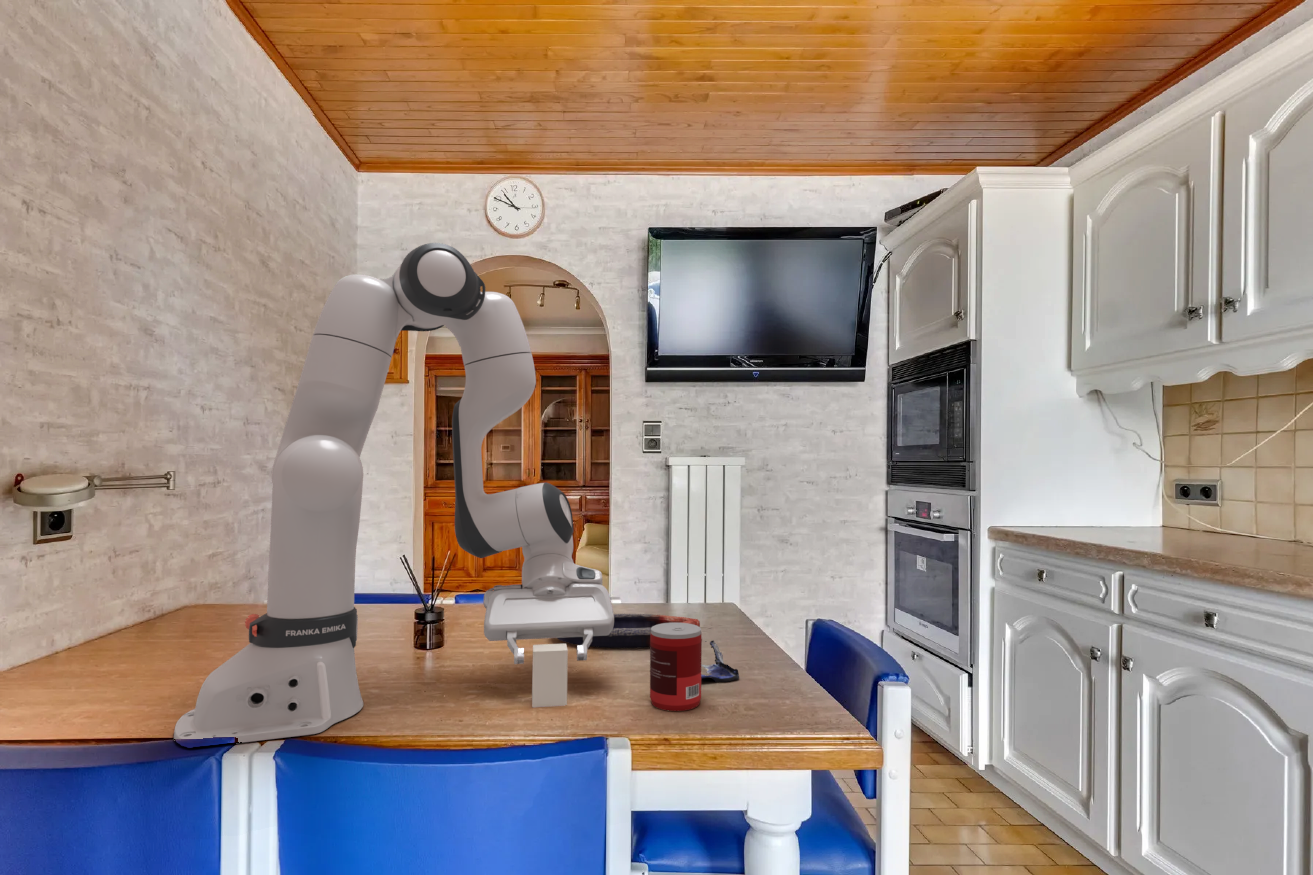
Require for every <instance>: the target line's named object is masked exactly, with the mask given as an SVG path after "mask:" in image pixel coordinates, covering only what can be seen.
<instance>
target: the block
mask: <svg viewBox="0 0 1313 875" xmlns="http://www.w3.org/2000/svg"><path fill="white" fill-rule="evenodd" d="M568 652H569V651H568V647H567V643H549V644H548V643H546V644H545V643H544V644H532V676H531V677H532V680H531V681H532V682H531V683H532V684H531V685H532V686H531V707H532V708H548V707H564V706H565V705H567V706H568V657H569V656H568V655H569V654H568Z"/></svg>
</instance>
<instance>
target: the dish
mask: <svg viewBox="0 0 1313 875" xmlns="http://www.w3.org/2000/svg"><path fill="white" fill-rule="evenodd" d="M662 623H689V624H693V625H697V626H699V627H700V628H701V626H700V625H701V622H700V620H699V619H698V618H691V617H686V616H672V615H664V614H652V613H650V614H649V613H614V626H613V630H612V631H611V633H610V634H609V635H607V636H593V638H592V642H591V644H590V646H589V647H590V648H603V649H640V648H641V649H642V648H643V649H644V648H645V649H646V648H650V632H651V627H653V626H655V625H658V624H662ZM556 639H557V640H559V641H561V642H563V643H566V644H567V643H568V644H571V645H576V646H577V645H583V643H584V641H583V637H565V638H556ZM589 647H588V648H589Z"/></svg>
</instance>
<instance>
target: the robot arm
mask: <svg viewBox="0 0 1313 875" xmlns="http://www.w3.org/2000/svg"><path fill="white" fill-rule="evenodd" d="M481 287H482V288H481ZM481 290H482V291H481ZM442 327H445V328H446V329H448V330H449V331H450V332H451V333H452V334H453V336H454V337H455V339H456V341H457V343H458V347H460V351H461V357H462V363H463V366H464V371H465V384H464V390H463V394H462V397H461V398H460V399H459V400H458V401H457V402H456V403H454V407H453V410H452V411H453V412H452V419H451V421H452V422H451V425H452V426H451V428H452V429H451V430H452V431H451V434H452V436H451V437H452V438H451V439H452V457H453V458H452V461H453V476H454V477H453V478H454V479H453V480H454V494H455V495H454V496H455V498H454V500H455V503H454V534H455V537H456V542H457V544H458V546H459V548H461V549H462V550H463V551H465V552H466V553H468V554H470V555H472V556H474V557H476V558H479V559H484V558H487V557H490V556H494V555H497V554H500V553H502V552H503V551H508V550H514V549H517V548H518V549H519V548H522V555H523V558H524V561H523V563H522V567H521V584H510V585H509V584H508V585H507V584H506V585H502V584H499V585H498V584H497V585H494V586H493V587H492V588H489V589H487V590H486V591H485V593H483V594H484V595H483V601H482V602H483V606H484V607H483V608H485V614H484V620H483V621H484V622H483V634H484V637H485V638H486V639H487V640H488V641H489V642H495V641H496V642H499V641H501V642H502V641H506V645H507V647H508V649H509V650H510V652H511V653H512V655H513V664H514V665H521V664H522V665H525V664H524V663H525V648H524V647H519V646H518V645H517V641H519V640H522V641H523V640H538V639H539V640H540V639H542V640H543V639H557V638H565V637H583V641H584V643H583V645H576V661H577V662H580V661H587V659H588V649H589V646H590V644H591V642H592V638H593V636H607V635H609V634H610V633H611V631H612V630H613V626H614V614H615V612H614V608H613V603H612V600H611V596H610V594H609V590H608V589H607V588H606V586H604V585H603V573H602V572H601V570H599V569H595V568H590V567H586V566H582V565H579V564H576V563H574V559H573V552H574V538H573V534H574V520H573V512H572V507H571V505H570V501H569V499H568V498H567V495H566V494H565V493H564V492H563V491H562V490H560V489H559V488H558V487H557V486H555V485H553V484H552V483H549V482H547V481H546V482H540V483H533V484H529V485H525V486H520V487H517V488H513V489H508V490H505V491H500V492H496V493H488V494H487V493H486V492H485V490H484V479H483V478H484V477H483V476H484V475H483V459H482V458H483V457H482V445H483V443H484V439H485V437H486V436H487V435H488V433H490V431H491V430H492V429H493V428H494V427H495V426H497V425H498V424H500V423H501V422H503V421H504V420H506V419H507V418H509V417H510V416H512V415H514V414H515V413H516V412H518V411H519V410H520V409H521V408H523V407H524V405H526V404H527V402H528V401H529V400H530V398H531V397H532V395H533V394H534V391H535V388H536V385H537V377H536V369H535V364H534V363H535V362H534V358H533V354H532V349H531V345H530V341H529V338H528V335H527V331H526V329H525V326H524V322H523V320H522V317H521V315H520V313H519V310H518V309H517V306H516V304H515V302H514V301H513V299H512V298H510V297H509V296H508V295H506V294H504V293H500V292H497V291H486V285H485V282H484V281H483V280H482V279H481V277H480V276H479V275H478V274H477V273H476V271H475V270H474V268H473V266H472V265H471V263H470V262H469V260H468V259H467V258H466V257H465V255H463V253H461V251H459V250H458V249H457V248H455V247H453V246H452V245H449V244H446V243H443V242H442V243H441V242H429V243H425V244H422V245H420V246H417V247H415V248H414V249H411V251H409V253H407V255H405V257H404V258H403V260H402V261H401V264H400V265H399V266H398V267H397V269H396V270H395V271H394V273H393V274H392V275H391V276H389V277H387V278H377V277H375V276H372V275H368V274H361V273H356V274H355V273H353V274H349V275H346V276H343V277H341V278H340V279H339V280H337V282H336V283H335V285H334V286H333V287H332V289H331V291H330V293H329V295H328V297H327V299H326V301H325V303H324V305H323V307H322V310H321V312H320V314H319V317H318V319H317V322H316V324H315V327H314V330H313V333H312V336H311V340H310V343H309V346H308V350H307V352H306V353H307V354H306V357H305V361H304V363H303V367H302V370H301V373H300V376H299V377H300V378H299V379H298V380H299V381H298V383H297V387H296V391H295V393H294V397H293V400H292V402H291V406H290V409H289V412H288V416H287V419H286V422H285V426H284V429H283V432H282V435H281V439H280V442H279V445H278V448H277V451H276V454H275V458H274V461H273V464H272V468H271V483H272V488H271V490H272V491H271V492H272V494H271V514H270V515H271V516H270V532H269V533H270V536H269V537H270V538H269V551H268V572H267V573H268V579H267V602H266V604H267V605H266V613H264V614H263V615H259V614H258V613H257V614H256V613H252V614H249V615H248V616H247V618H245V621H244V623H245V625H244V626H245V628H246V629H247V630H248V643H249V644H246V646H244V647H243V648H242V649H241V650H239V651H238V652H237V653H236V654H234V655H232V656H231V657H230V658H229V659H227V660H226V661H225V662H223V663H222V664H221V665H219V666H218V667H217V668H215V669H214V670H213V671H211V672H210V673H209V674H208V675H207V676H206V678H205V680H204V682H203V683H202V685H201V687H200V690H199V693H198V695H197V699H196V703H195V708H193V709H191V710H189V711H187V712H186V713H184V714H182V715H181V717H180V718H178V720H177V721H176V724H175V727H174V731H173V740H174V739H203V738H213V737H236V738H238V742H239V743H238V744H240V742H242V743H249V742H250V743H251V742H257V741H265V740H266V741H267V740H275V739H283V738H291V737H300V736H309V735H315V734H319V733H322V732H324V731H325V730H327V729H328V728H330V727H331V726H332V725H334V724H337V723H338V722H342V721H343V720H346V719H348V718H350V717H353V716H354V715H355V714H357V713H358V712H360V711H361V710H362V709H363V707H364V701H363V698H362V695H361V691H360V686H359V681H358V676H357V675H358V674H357V667H356V655H355V653H356V652H355V648H356V646H357V641H358V630H359V629H358V625H359V624H358V622H359V618H358V617H359V616H358V609H357V608H356V607H355V589H356V588H355V583H356V557H357V556H356V554H357V545H358V540H359V539H358V537H359V529H360V519H361V509H362V499H363V498H362V497H363V485H364V484H363V483H364V466H363V463H362V461H361V458H360V457H361V455H362V451H363V448H364V445H365V442H366V440H367V436H368V435H369V431H370V428H371V426H372V423H373V421H374V418H375V415H376V414H377V411H378V409H379V405H380V402H381V398H382V393H383V389H384V387H385V384H386V379H387V376H388V372H389V368H390V365H391V362H392V358H393V353H394V350H395V347H396V346H395V345H396V342H397V340H398V337H399V334H400V332H401V331H402V332H403V331H406V332H408V331H409V332H431V331H436V330H439V329H441V328H442Z"/></svg>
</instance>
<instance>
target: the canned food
mask: <svg viewBox="0 0 1313 875" xmlns="http://www.w3.org/2000/svg"><path fill="white" fill-rule="evenodd" d="M702 635H703V633H702V627H701V626H700V627H699V626H697V625H693V624H689V623H662V624H658V625H655V626H653V627H651V632H650V647H649V648H650V649H649V655H650V656H649V658H650V659H649V664H650V665H649V697H650V702H651V704H652V705H653V706H654V707H655V708H656V707H657V708H656V709H659V710H661V711H662V710H663V711H667V710H669V711H668V712H684V711H690V710H693V709H695V708H697V707H698V706H699V705H700V703H701V699H702V679H701V674H702V666H701V665H702V654H703V653H702V652H703V651H702V648H703V647H702V641H703V640H702V638H703V637H702Z"/></svg>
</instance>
